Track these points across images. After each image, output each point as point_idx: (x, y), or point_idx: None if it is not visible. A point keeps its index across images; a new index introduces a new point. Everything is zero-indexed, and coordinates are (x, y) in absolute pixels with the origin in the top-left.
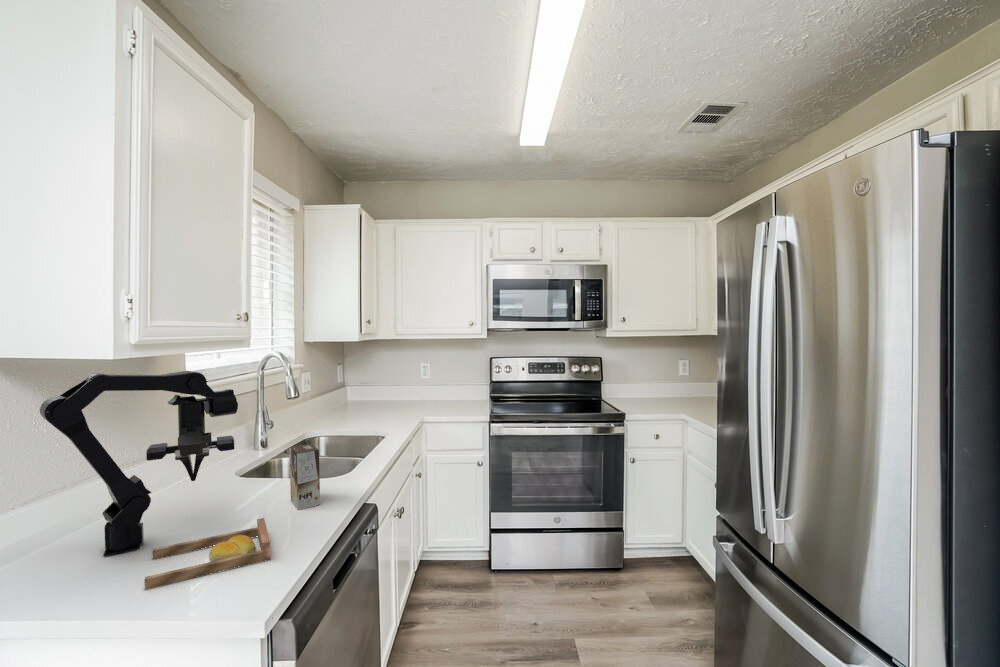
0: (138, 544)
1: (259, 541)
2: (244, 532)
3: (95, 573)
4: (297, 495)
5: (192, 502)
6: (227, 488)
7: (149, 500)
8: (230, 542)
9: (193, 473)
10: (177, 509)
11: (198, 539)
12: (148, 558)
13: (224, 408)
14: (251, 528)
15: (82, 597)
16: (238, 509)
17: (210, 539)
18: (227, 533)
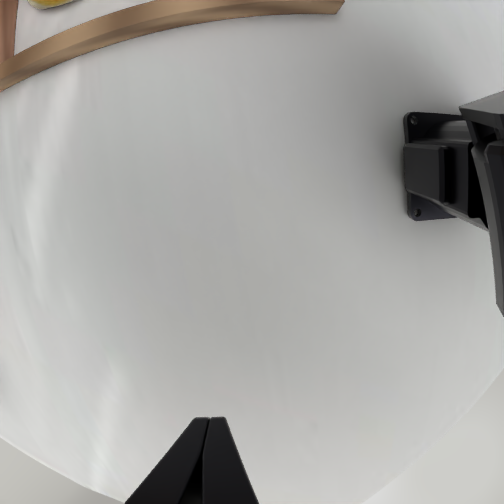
0: (412, 138)
1: (10, 13)
2: (28, 49)
3: (462, 10)
4: None
5: (277, 462)
6: None
7: (498, 144)
8: None
9: (193, 469)
10: (314, 434)
11: (175, 12)
12: (350, 16)
13: None
14: (9, 74)
15: None
16: (114, 364)
17: (131, 8)
18: (73, 42)
